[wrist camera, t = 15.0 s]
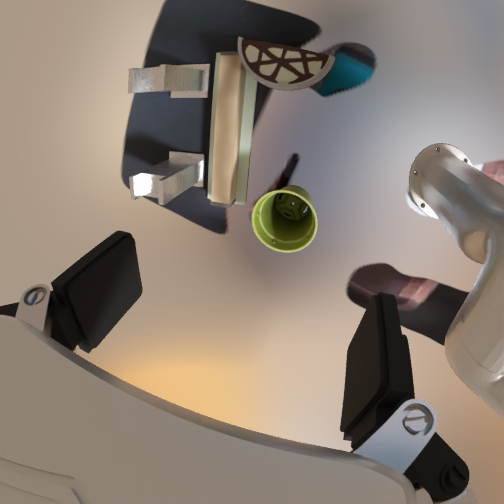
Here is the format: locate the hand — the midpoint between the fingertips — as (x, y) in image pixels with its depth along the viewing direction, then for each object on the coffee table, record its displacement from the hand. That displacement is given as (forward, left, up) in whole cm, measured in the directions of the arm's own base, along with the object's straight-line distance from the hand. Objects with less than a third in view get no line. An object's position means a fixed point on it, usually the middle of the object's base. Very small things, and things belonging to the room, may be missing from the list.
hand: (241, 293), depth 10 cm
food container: (+5, -11, -36) cm, 38 cm away
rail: (+13, -1, -36) cm, 38 cm away
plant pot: (+2, +10, -37) cm, 38 cm away
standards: (+21, -1, -36) cm, 42 cm away
